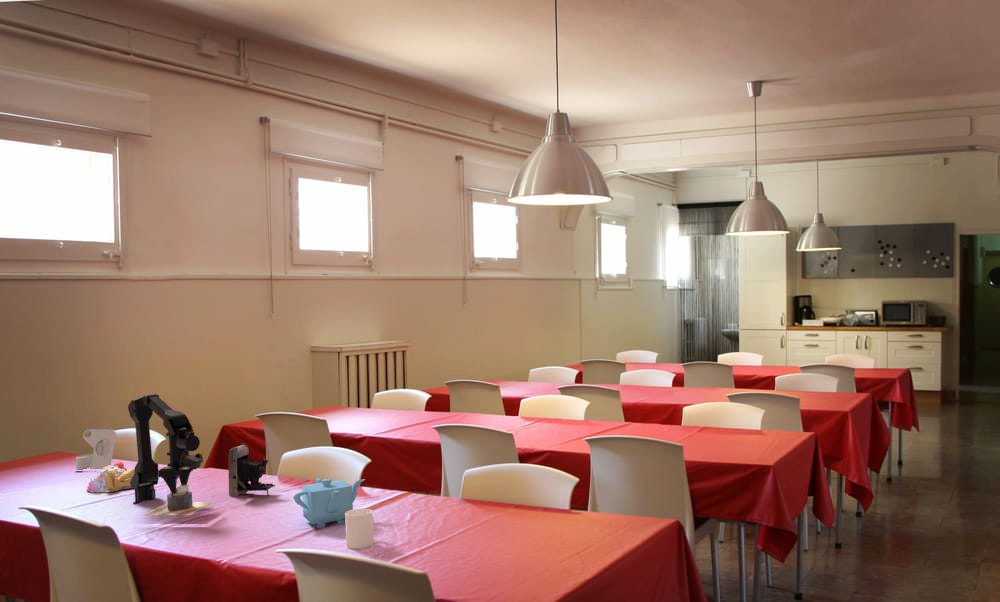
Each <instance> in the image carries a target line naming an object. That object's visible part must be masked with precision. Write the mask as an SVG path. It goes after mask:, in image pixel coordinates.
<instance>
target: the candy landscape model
mask: <svg viewBox="0 0 1000 602" xmlns="http://www.w3.org/2000/svg"><path fill="white" fill-rule="evenodd" d="M127 469H128V468H127V467H125V466H124V463H123V462H122V461H117V462H115V463H114V464H113V465H110V466H107V467H105V468H103V469H102V471H101V472H99V474H97V475H96V476H95V477H96V478H95V477H94V478H90V481H89V482H88V485H87V488H86V492H87V491H90V492H89V493H91V492H92V493H94V492H96V493H111V492H112V493H113V492H117V491H120V490H128V489H132V488H131V485H130V481H131V479H132V477H133V476H134V469H133V468H130V469H128V470H127Z"/></svg>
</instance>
